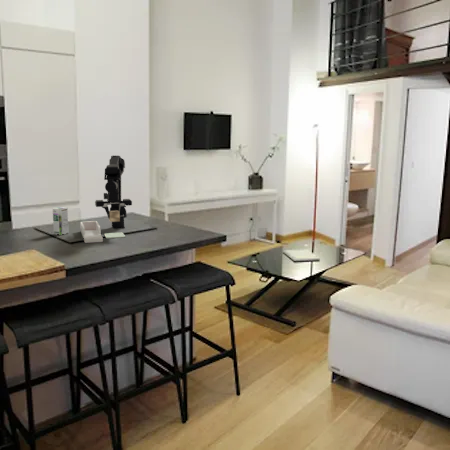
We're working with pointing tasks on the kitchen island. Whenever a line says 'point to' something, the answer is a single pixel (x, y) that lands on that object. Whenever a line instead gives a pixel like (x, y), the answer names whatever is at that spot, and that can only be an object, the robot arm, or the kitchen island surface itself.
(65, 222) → the syrup box
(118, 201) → the robot arm
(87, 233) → the trap channel
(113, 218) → the maple block
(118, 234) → the sage pad
